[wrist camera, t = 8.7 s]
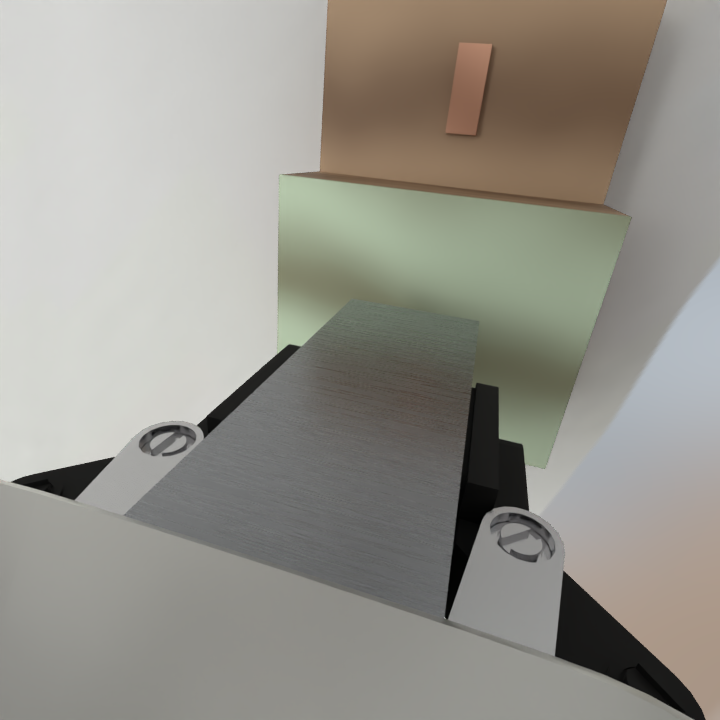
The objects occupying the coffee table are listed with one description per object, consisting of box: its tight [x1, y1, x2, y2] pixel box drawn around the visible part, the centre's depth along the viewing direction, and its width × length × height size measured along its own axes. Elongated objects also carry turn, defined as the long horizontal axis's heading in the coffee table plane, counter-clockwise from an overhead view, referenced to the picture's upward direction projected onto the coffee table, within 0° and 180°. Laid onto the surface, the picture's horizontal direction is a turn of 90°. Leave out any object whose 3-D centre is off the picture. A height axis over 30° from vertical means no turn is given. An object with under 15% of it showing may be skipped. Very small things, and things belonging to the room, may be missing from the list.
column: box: [123, 299, 479, 618], centre depth 9 cm, size 4×4×12 cm
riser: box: [277, 0, 667, 469], centre depth 19 cm, size 17×12×8 cm
